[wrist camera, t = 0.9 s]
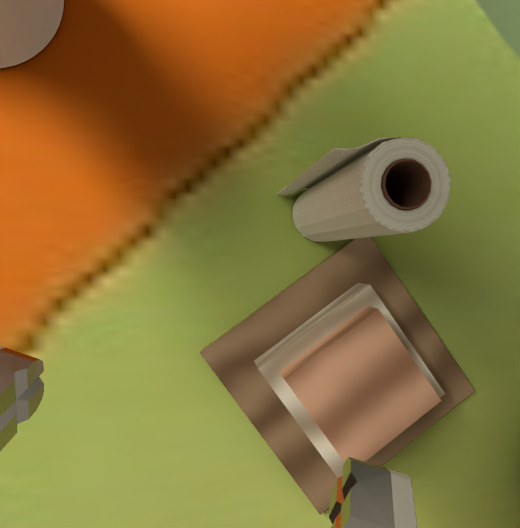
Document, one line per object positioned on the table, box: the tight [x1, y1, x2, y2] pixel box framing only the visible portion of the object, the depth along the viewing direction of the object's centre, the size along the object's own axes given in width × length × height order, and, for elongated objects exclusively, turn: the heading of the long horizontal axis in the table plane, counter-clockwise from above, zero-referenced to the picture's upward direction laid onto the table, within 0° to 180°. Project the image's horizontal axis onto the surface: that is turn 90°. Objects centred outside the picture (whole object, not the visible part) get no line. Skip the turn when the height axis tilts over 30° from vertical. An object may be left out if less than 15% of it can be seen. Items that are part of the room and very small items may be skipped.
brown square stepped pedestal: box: [200, 237, 475, 515], centre depth 46 cm, size 22×22×8 cm
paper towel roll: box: [277, 137, 451, 242], centre depth 39 cm, size 7×6×21 cm
